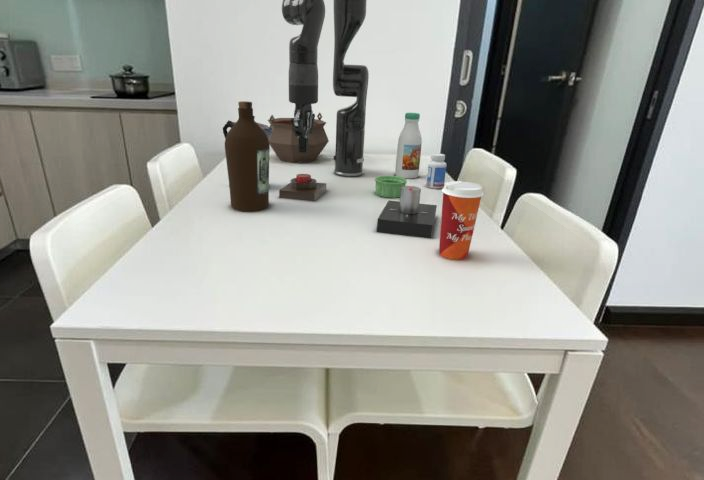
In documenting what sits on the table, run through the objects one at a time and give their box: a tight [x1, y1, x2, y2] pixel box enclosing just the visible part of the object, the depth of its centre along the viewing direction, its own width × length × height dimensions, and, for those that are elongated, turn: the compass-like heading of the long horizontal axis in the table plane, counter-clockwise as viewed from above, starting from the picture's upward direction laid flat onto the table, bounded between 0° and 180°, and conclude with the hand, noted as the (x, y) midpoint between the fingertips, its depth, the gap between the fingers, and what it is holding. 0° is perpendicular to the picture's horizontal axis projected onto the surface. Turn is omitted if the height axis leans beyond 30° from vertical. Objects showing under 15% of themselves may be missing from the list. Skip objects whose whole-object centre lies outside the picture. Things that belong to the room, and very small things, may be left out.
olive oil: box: [224, 100, 271, 212], centre depth 113 cm, size 11×11×25 cm
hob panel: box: [376, 199, 438, 239], centre depth 109 cm, size 16×12×3 cm
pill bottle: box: [425, 153, 447, 190], centre depth 141 cm, size 6×5×10 cm
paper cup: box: [438, 180, 485, 261], centre depth 90 cm, size 8×8×14 cm
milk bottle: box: [394, 112, 423, 179], centre depth 150 cm, size 8×8×20 cm
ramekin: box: [374, 175, 408, 199], centre depth 132 cm, size 9×9×4 cm
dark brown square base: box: [278, 177, 327, 202], centre depth 129 cm, size 12×10×4 cm
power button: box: [295, 173, 312, 182], centre depth 128 cm, size 4×4×2 cm
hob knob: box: [399, 185, 422, 214], centre depth 107 cm, size 4×4×6 cm
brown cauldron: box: [267, 112, 330, 164], centre depth 172 cm, size 24×24×16 cm
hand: (303, 152), depth 125 cm, fingers closed
